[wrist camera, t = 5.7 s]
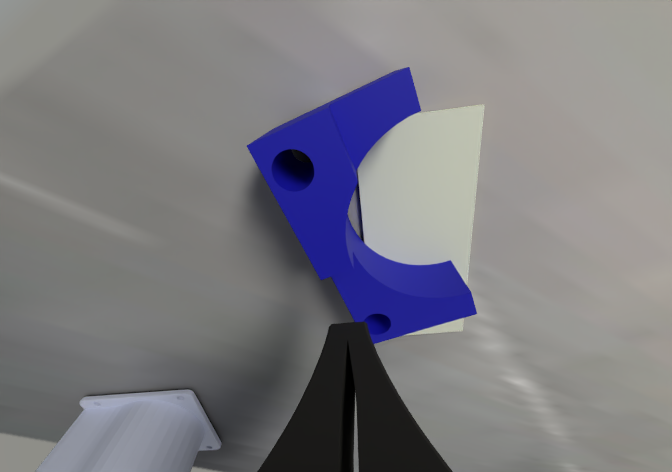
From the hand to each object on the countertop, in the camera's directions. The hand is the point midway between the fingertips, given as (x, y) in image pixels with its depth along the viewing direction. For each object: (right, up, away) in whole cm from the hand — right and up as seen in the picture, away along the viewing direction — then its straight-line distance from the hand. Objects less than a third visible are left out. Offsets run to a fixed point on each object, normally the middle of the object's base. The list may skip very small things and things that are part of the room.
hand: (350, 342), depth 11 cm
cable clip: (-1, +3, +3) cm, 5 cm away
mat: (+4, +4, +6) cm, 8 cm away
